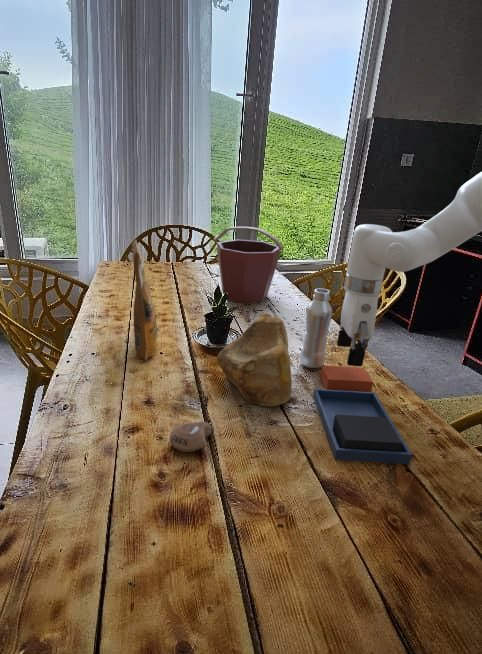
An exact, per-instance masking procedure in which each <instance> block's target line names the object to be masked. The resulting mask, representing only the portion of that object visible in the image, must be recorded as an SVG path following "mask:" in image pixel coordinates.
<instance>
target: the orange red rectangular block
mask: <svg viewBox="0 0 482 654" xmlns="http://www.w3.org/2000/svg"><path fill="white" fill-rule="evenodd" d="M320 371H321V372H320V380H321V383H322V385H323V387H324V388H323V389H325V390H342V391H358V392H372V390H373V385H374V381H373V379H372V377H371V376H370V374H369V373H368V371H367V370H366V368H365V367H362V366H344V365H340V366H339V365H324V364H323V365H322V366H321V370H320Z"/></svg>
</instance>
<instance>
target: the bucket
mask: <svg viewBox="0 0 482 654" xmlns="http://www.w3.org/2000/svg"><path fill="white" fill-rule="evenodd" d="M234 230H248V231H249V230H250V231H255V232H258V233H260V234H261V235H264V236H265V237H267V238H268V239H270V240H271V241H273V243H274V244H273V243H270V242H266V241H263V240H262V241H261V240H249V239H231V240H230V239H229V240H225V241H218V240H220V239H221V238H223V237H224V236H225V235H226V234H227V233H228V232H230V231H234ZM213 240H214V243H215V245H216V246H217V249H216V251H217V260H218V268H219V275H220V282H221V283H220V284H221V291H223V292H222V294H223V293H226V292H227V293H228V299H227V300H229V301H233V302H237V303H241V304H251V303H263V302H264V300H266V299H267V298H268V294H269V291H270V290H271V289H270V287H271V285H272V282H273V278H274V276H275V271H276V269H277V267H278V262H279V258H280V253H281V251H282V250H283V248H284V247H283V245H282V243H281V242H280V241H279V239H278V238H277V237H275V236H274V235H273V234H271V233H269V232H268V231H266V230H265V229H262V228H259V227H254V226H231V227H227V228H224V229H223V231H221V233H219V235H215V237H213Z"/></svg>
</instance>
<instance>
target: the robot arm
mask: <svg viewBox="0 0 482 654" xmlns="http://www.w3.org/2000/svg"><path fill="white" fill-rule="evenodd" d="M481 232H482V171H480V172H479V173H477V174H475V176H473V177H472V178H470V179H469V180H467V181H466V182H465V183H463V185H461V186H460V187H459V188H458V190H457V192H456V195H455V196H454V199H453V200H452V201H451V202H450V203H449V205H447V206H446V207H445V208H443V210H441V211H440V212H438V213H437V214H436V215H434V216H433V217H431V218H430V219H428V220H426V221H425V222H424V223H422V224H421V225H419V226H418V227H416V228H412V229H409V230H405V231H404V230H403V231H398V232H395V231H392V229H391V228H389V227H388V226H384V225H380V224H374V223H373V224H371V223H363V224H359V225H357V226H356V227H355V229H354V231H353V235H352V239H351V245H350V250H349V257H348V262H347V268H346V273H345V279H344V285H343V289H344V291H345V293H344V298H343V303H342V308H341V312H340V325H339V331H338V335H337V339H336V340H337V341H336V345H337V347H342V348H343V347H344V348H349V351H348V357H347V362H346V365H347V366H348V367H362V366H363V364H364V359H365V356H366V351H367V348H368V346H369V342H370V340H371V339H373V337H374V331H375V325H376V319H377V313H378V302H379V295H380V294H381V290H382V286H383V282H384V278H385V277H384V276H385V272H386V269H388V270H391V271H392V272H397V273H405V272H409V271H412V270H414V269H417V268H419V267H422V266H424V265H427V264H430V263H433V262H434V261H436V260H437V259H438V258H440V257H442V256H443V255H445V254H447V253H449V252H451V251H453V250H454V249H455V248H457V247H459V246H460V245H462V244H463V243H465V242H467V241H468V240H470V239H471V238H473V237H474V236H476V235H477V234H479V233H481ZM357 340H359V341H357Z"/></svg>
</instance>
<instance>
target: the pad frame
mask: <svg viewBox="0 0 482 654" xmlns="http://www.w3.org/2000/svg"><path fill="white" fill-rule="evenodd" d="M312 395H313V396H312V398H313V401H314V403H315V407H316V409H317V412H318V415H319V418H320V420H321V424H322V427H323V429H324V430H323V431H324V432H325V435H326V438H327V441H328V444H329V448H330V449H331V450H330V451H331V453H332V456H333V457H334V460H339V461H353V462H354V461H355V462H368V463H382V464H383V463H385V464H400V465H410V464H411V463H412V458H413V453H412V451H411V450H410V449H409V447H408V445H407V444H406V442H405V440H404V438H403V437H402V436H401V434H400V432H399V430H398V428H397V426H396V425H395V423H394V421H393V420H392V418H391V417H390V415H389V414H388V412H387V410H386V408H385V407H384V405H383V404H382V402H381V401H380V399H379V397H378V395H377V394H376V392H375V391H374V392H373V391H371V392H358V391H342V390H326V389H325V388H314V389H313V394H312ZM335 414H337V415H353V416H369V417H385V418H388V420H389V421H390V423H391V425H392V426H393V428H394V430H395V431H396V433H397V435H398V437H399V438H400V440H401V442H402V447H401V451H400V452H391V451H376V450H360V449H345V448H339V445H338V442H337V440H336V437H335V434H334V432H333V424H334V419H335Z"/></svg>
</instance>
